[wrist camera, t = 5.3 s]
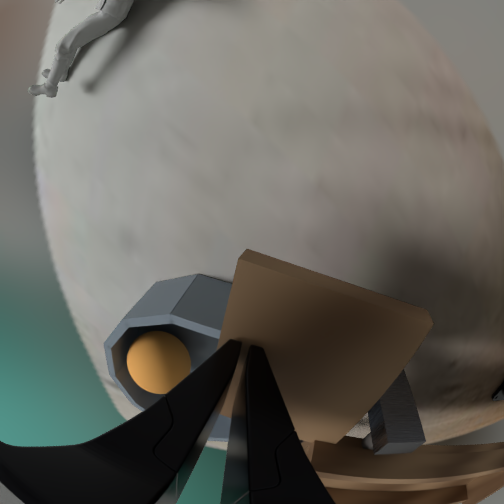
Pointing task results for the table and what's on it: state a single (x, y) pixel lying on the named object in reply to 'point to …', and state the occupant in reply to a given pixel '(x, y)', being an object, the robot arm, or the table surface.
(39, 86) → the soldier figure
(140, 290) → the table surface
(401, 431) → the lever stand
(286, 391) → the lever
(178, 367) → the ball
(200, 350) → the cup
